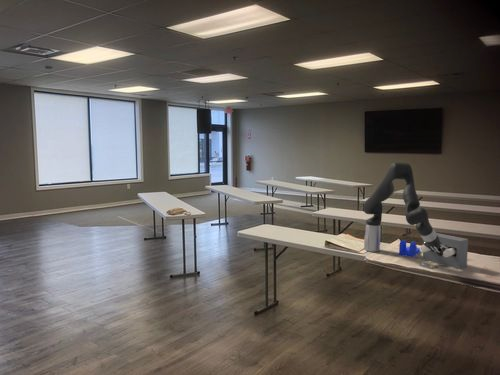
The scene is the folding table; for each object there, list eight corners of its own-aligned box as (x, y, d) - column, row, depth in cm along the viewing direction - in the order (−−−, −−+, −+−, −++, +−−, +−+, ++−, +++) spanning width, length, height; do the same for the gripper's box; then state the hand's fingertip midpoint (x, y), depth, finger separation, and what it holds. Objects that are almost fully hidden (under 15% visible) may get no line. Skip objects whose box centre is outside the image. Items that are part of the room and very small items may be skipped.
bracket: (412, 257, 241) (413, 243, 240) (399, 255, 246) (399, 241, 245) (421, 251, 255) (422, 237, 254) (408, 249, 260) (408, 235, 259)
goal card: (431, 268, 218) (431, 267, 218) (418, 265, 225) (418, 264, 225) (437, 267, 221) (437, 265, 221) (424, 263, 228) (424, 262, 228)
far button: (427, 252, 226) (427, 245, 225) (420, 251, 229) (420, 243, 229) (435, 250, 230) (436, 243, 230) (428, 249, 234) (429, 241, 233)
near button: (449, 258, 215) (449, 250, 214) (441, 256, 219) (442, 248, 218) (457, 255, 220) (458, 248, 219) (449, 254, 223) (450, 246, 223)
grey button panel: (459, 269, 217) (460, 241, 216) (422, 259, 235) (423, 233, 234) (466, 266, 222) (468, 239, 220) (430, 257, 240) (431, 232, 238)
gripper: (444, 232, 202) (455, 252, 210) (420, 228, 213) (432, 246, 221) (438, 244, 199) (450, 263, 207) (414, 239, 210) (426, 257, 218)
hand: (441, 254), depth 214 cm, fingers closed
